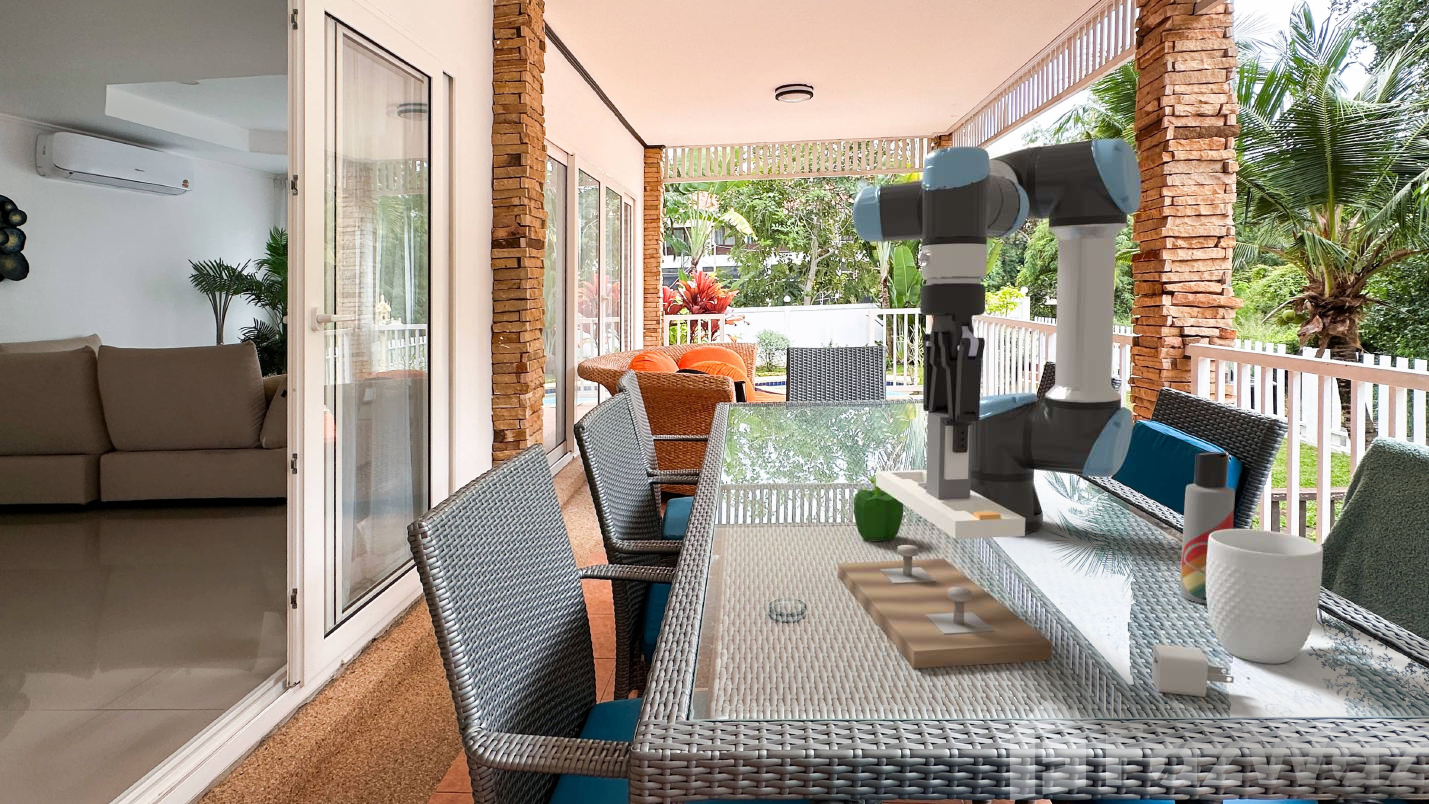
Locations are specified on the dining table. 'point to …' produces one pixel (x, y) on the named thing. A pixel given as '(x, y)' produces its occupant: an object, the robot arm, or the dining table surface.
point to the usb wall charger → (1184, 670)
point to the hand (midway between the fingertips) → (948, 474)
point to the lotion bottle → (1204, 520)
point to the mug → (1262, 592)
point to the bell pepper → (877, 514)
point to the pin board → (940, 613)
